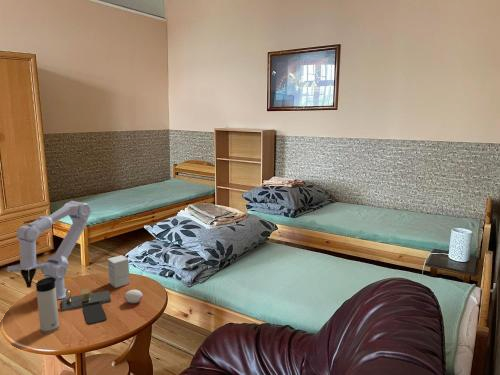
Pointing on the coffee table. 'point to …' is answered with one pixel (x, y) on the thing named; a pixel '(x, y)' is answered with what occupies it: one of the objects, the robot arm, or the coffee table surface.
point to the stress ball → (133, 296)
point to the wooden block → (85, 294)
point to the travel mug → (47, 305)
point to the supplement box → (118, 271)
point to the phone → (94, 314)
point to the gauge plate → (77, 301)
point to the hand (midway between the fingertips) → (29, 286)
